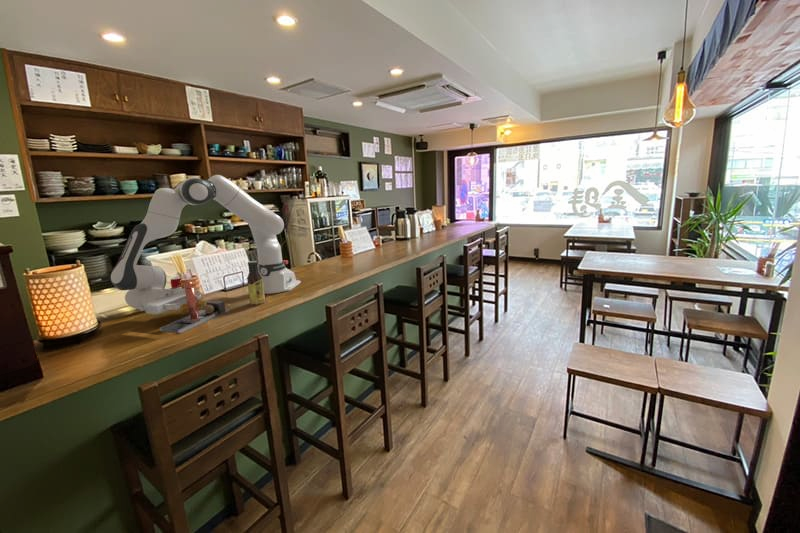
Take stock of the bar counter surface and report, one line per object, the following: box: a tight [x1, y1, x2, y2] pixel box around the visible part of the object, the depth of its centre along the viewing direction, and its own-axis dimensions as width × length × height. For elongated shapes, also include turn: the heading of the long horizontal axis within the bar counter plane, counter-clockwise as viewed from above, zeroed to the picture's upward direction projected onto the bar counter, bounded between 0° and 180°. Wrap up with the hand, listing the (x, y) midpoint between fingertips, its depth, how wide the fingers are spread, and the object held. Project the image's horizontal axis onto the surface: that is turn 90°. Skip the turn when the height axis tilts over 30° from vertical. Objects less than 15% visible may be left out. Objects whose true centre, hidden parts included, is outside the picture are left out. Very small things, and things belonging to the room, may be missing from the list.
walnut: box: [202, 304, 214, 315], centre depth 142 cm, size 4×4×4 cm
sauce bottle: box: [246, 260, 266, 307], centre depth 152 cm, size 6×6×20 cm
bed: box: [159, 299, 231, 334], centre depth 137 cm, size 24×10×5 cm, turn 163°
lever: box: [181, 280, 206, 323], centre depth 135 cm, size 7×7×16 cm
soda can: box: [170, 275, 182, 288], centre depth 163 cm, size 6×6×12 cm
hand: (189, 302), depth 135 cm, fingers open, 8 cm apart
